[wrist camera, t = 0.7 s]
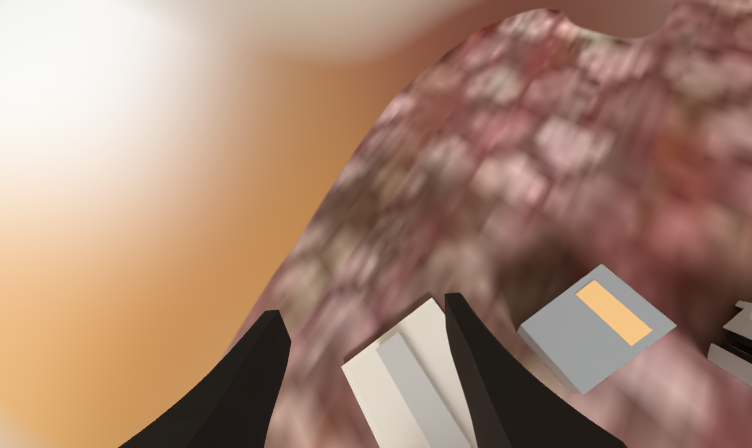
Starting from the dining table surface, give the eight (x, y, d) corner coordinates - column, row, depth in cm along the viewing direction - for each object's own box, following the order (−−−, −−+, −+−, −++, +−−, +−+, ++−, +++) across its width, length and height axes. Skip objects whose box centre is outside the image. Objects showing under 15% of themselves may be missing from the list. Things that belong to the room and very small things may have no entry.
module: (640, 333, 23) (677, 325, 18) (566, 389, 23) (583, 394, 18) (583, 282, 25) (601, 263, 21) (516, 332, 26) (520, 324, 21)
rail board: (551, 455, 22) (555, 464, 20) (430, 543, 22) (424, 559, 20) (433, 299, 29) (428, 294, 27) (344, 366, 30) (334, 366, 28)
